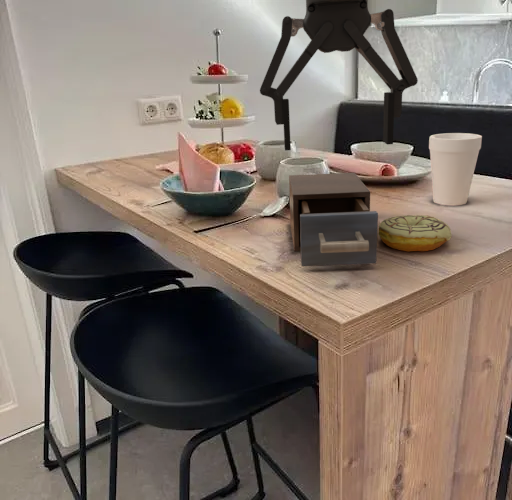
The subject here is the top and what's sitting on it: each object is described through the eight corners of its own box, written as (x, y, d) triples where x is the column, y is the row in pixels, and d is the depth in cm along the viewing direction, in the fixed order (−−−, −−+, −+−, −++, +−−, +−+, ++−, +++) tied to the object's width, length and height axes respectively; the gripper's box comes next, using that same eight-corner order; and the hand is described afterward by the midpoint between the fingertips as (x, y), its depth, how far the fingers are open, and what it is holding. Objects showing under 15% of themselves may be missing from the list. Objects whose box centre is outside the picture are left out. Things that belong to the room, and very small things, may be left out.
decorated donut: (464, 247, 76) (466, 223, 75) (406, 259, 73) (407, 235, 72) (419, 229, 86) (421, 207, 84) (366, 239, 82) (366, 217, 81)
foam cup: (470, 209, 95) (477, 140, 91) (421, 205, 100) (425, 139, 95) (477, 197, 103) (484, 133, 98) (431, 194, 107) (435, 132, 103)
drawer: (385, 280, 64) (387, 225, 62) (304, 283, 64) (303, 229, 62) (359, 233, 82) (360, 190, 80) (296, 236, 83) (295, 192, 80)
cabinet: (368, 248, 78) (370, 191, 75) (294, 251, 78) (292, 194, 75) (353, 221, 92) (354, 172, 88) (290, 224, 92) (289, 175, 89)
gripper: (430, -32, 64) (422, 136, 71) (236, -18, 65) (247, 147, 72) (450, -45, 57) (439, 144, 64) (232, -28, 58) (245, 155, 65)
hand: (337, 146), depth 68 cm, fingers open, 13 cm apart
